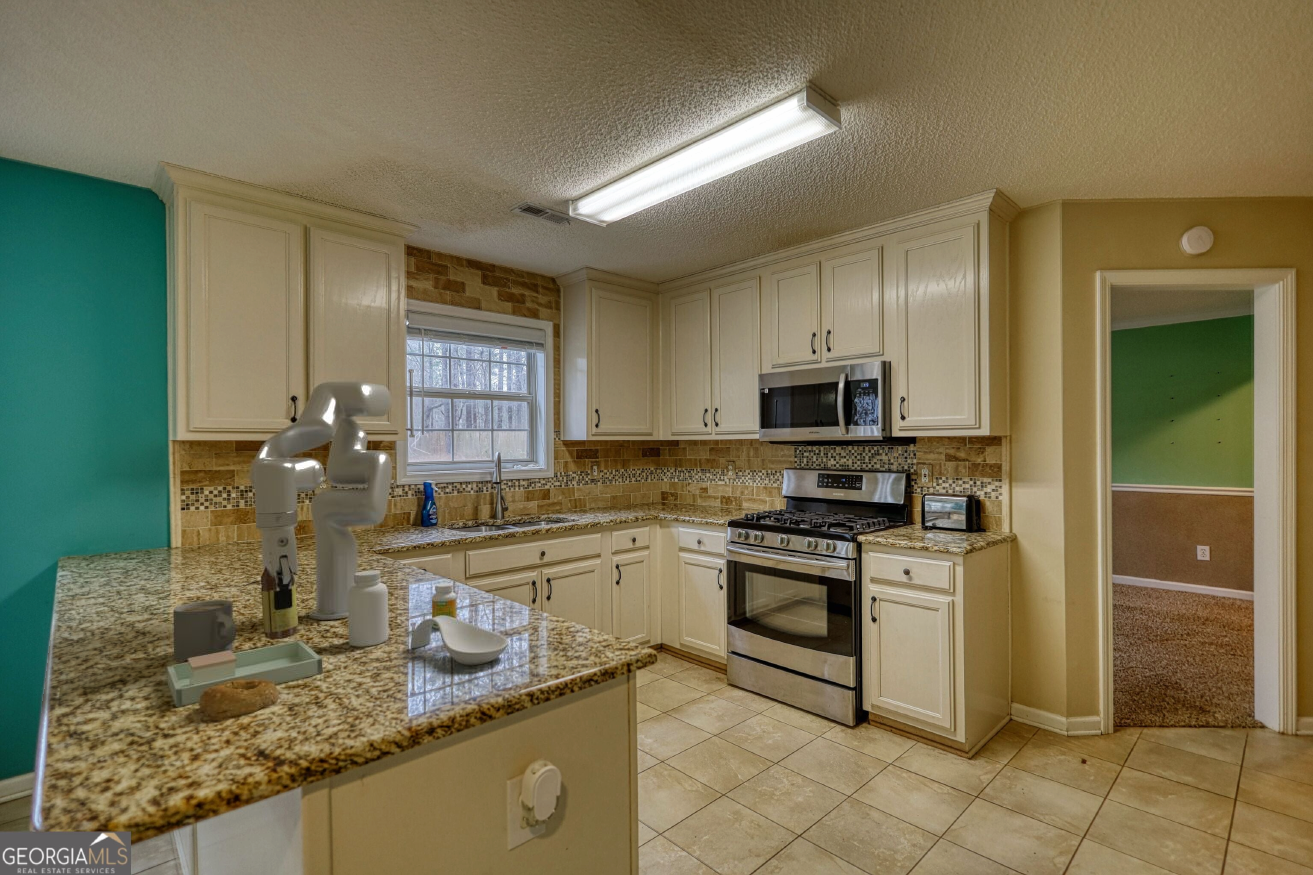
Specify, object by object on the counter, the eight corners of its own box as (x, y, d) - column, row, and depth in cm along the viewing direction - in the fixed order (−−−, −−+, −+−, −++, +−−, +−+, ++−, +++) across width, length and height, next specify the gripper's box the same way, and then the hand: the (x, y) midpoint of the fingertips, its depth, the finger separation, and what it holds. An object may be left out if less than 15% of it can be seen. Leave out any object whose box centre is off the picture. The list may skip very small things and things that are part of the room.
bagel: (270, 716, 100) (269, 686, 101) (188, 727, 97) (187, 696, 97) (286, 694, 110) (286, 666, 110) (212, 703, 107) (212, 675, 107)
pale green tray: (300, 655, 129) (300, 640, 129) (322, 675, 118) (322, 658, 118) (167, 683, 115) (166, 666, 115) (176, 709, 103) (176, 689, 103)
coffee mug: (164, 657, 130) (164, 608, 130) (218, 643, 138) (218, 597, 138) (196, 668, 123) (195, 616, 123) (251, 653, 131) (250, 604, 132)
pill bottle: (339, 645, 136) (338, 574, 136) (369, 634, 143) (368, 567, 144) (367, 649, 133) (367, 577, 133) (396, 638, 140) (396, 570, 141)
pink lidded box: (230, 675, 117) (230, 649, 118) (237, 684, 113) (236, 658, 113) (187, 684, 113) (187, 658, 113) (192, 694, 108) (192, 667, 108)
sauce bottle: (304, 630, 137) (302, 539, 136) (285, 641, 131) (282, 545, 130) (276, 630, 138) (273, 538, 137) (255, 640, 131) (252, 544, 131)
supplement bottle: (434, 630, 146) (433, 587, 146) (430, 624, 151) (430, 583, 151) (458, 627, 148) (457, 585, 149) (454, 621, 153) (453, 581, 153)
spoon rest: (520, 657, 127) (520, 621, 127) (475, 675, 117) (474, 636, 117) (440, 639, 140) (440, 607, 140) (393, 655, 130) (393, 619, 130)
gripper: (307, 522, 129) (310, 610, 130) (287, 513, 142) (289, 593, 143) (264, 527, 124) (267, 618, 125) (247, 517, 137) (250, 600, 138)
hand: (279, 604), depth 134 cm, fingers closed on sauce bottle, 6 cm apart
